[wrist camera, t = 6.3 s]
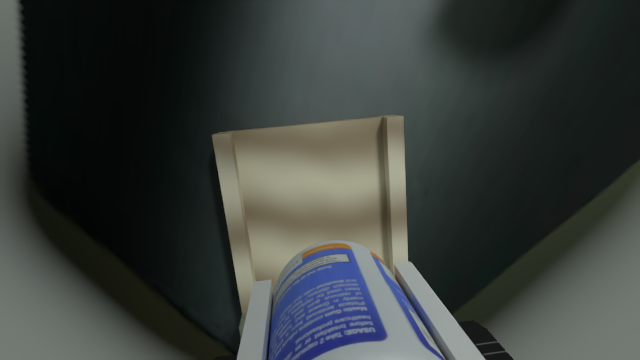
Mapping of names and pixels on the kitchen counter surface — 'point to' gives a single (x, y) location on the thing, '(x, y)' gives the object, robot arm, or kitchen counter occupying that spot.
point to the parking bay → (311, 193)
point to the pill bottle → (344, 309)
